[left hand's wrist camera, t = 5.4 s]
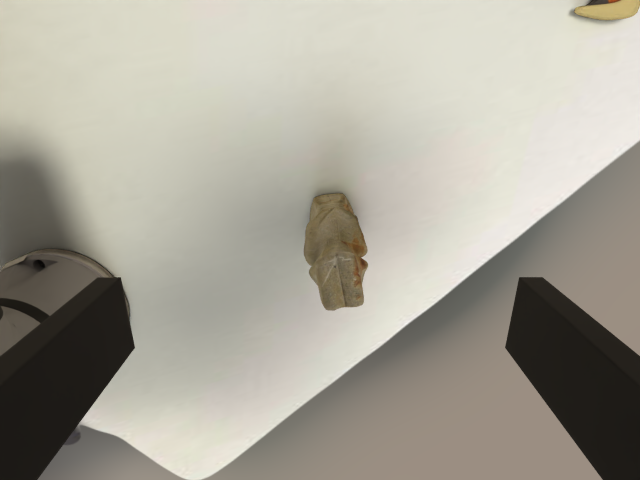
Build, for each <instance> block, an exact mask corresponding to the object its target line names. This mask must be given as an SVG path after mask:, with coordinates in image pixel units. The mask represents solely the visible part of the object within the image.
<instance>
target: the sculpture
mask: <svg viewBox="0 0 640 480" xmlns="http://www.w3.org/2000/svg"><path fill="white" fill-rule="evenodd" d="M367 251H368V250H367V246H366V243H365V240H364V236H363V233H362V231H361V228H360V226H359V223H358V219H357V217H356V216H355V215H354V213H353V210H352V208H351V206H350V203H349V201H348V200H347V198H346V196H345V195H344V194H341V193H337V194H327V195H321V196H317V197H315V198H314V199H313V202H312V206H311V211H310V222H309V223H308V225H307V227H306V235H305V245H304V256H305V259H306V261H307V262H308V264H309V265H311V266H312V267H311V268H310V270H309V274H310V276H311V278H312V279H313V280H314V281H315V283H316V284H317V285H318V288H319V293H320V297H321V301H322V304H323V306H324V308H325V309H326V310H337V309H339V308H342V307H358V306H361V305H362V304H363V302H364V296H363V289H362V282H363V277H364V273H365V271H366V269H367V267H368V263H367V262H366V261H365V260H363V259H362V258H361V257H363V256H364V255H365V254H366V253H367Z"/></svg>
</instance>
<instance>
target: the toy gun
mask: <svg viewBox="0 0 640 480" xmlns="http://www.w3.org/2000/svg"><path fill="white" fill-rule="evenodd" d="M639 6H640V0H592V2H591V3H589V4H588V5H586V6H580V7H577V8H575V12H574V13H576V14H578V15H581V16H584V17H589V18H594V19H599V20H616V19H624V18H629V17H632V16H634V15H635V14H636V13H637V11H638V9H639Z"/></svg>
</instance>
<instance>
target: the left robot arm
mask: <svg viewBox="0 0 640 480" xmlns="http://www.w3.org/2000/svg"><path fill="white" fill-rule="evenodd" d="M2 269H3V270H2ZM2 269H1V270H2V271H1V272H0V480H37V479H38V478H39V477H40V475H41V474H42V473H43V471H44V470H45V468H46V467H47V466H48V464H49V463H50V462H51V460H52V459H53V458H54V456H55V455H56V454H57V452H58V451H59V449H60V448H61V447H62V445H63V444H64V443H65V441H66V440H67V439H68V437H69V436H70V435H71V433H72V432H73V431H74V429H75V428H76V427H77V425H78V424H79V422H80V421H81V420H82V418H83V417H84V416H85V414H86V413H87V412H88V410H89V409H90V408H91V406H92V405H93V404H94V402H95V401H96V399H97V398H98V397H99V395H100V394H101V393H102V391H103V390H104V389H105V387H106V386H107V385H108V383H109V382H110V381H111V379H112V378H113V376H114V375H115V374H116V372H117V371H118V370H119V368H120V367H121V366H122V364H123V363H124V362H125V360H126V359H127V358H128V356H129V355H130V353H131V352H132V351H133V349H134V348H135V346H134V341H133V336H132V331H131V326H130V321H129V308H128V303H127V299H126V297H125V294H124V291H123V286H122V281H121V277H113V276H112V275H111V274H110V273H109V272H108V271H107V270H106V269H104V268H103V267H102V266H101V265H99V264H98V263H96V262H95V261H93V260H91V259H89V258H87V257H85V256H83V255H81V254H78V253H75V252H72V251H67V250H61V249H43V250H37V251H33V252H31V253H28V254H26V255H24V256H22V257H19V258H17V259H15V260H12V261H10V262H8V263H6V264H5V265H4V266H3V268H2ZM505 348H506V349H507V351H508V352H509V353H510V355H511V356H512V357H513V359H514V360H515V362H516V363H517V364H518V366H519V367H520V368H521V370H522V371H523V372H524V374H525V375H526V376H527V378H528V379H529V381H530V382H531V383H532V385H533V386H534V387H535V389H536V390H537V391H538V393H539V394H540V395H541V397H542V398H543V399H544V401H545V402H546V404H547V405H548V406H549V408H550V409H551V410H552V412H553V413H554V414H555V416H556V417H557V418H558V420H559V421H560V422H561V424H562V425H563V427H564V428H565V429H566V431H567V432H568V433H569V435H570V436H571V437H572V439H573V440H574V441H575V443H576V444H577V445H578V447H579V448H580V449H581V451H582V452H583V454H584V455H585V456H586V458H587V459H588V460H589V462H590V463H591V464H592V466H593V467H594V468H595V470H596V471H597V473H598V474H599V475H600V476H601V478H602V479H603V480H640V356H639V355H638V354H636V353H635V352H634V351H633V350H631V349H630V348H629V347H628V346H627V345H625V344H624V343H623V342H622V341H620V340H619V339H618V338H617V337H615V336H614V335H613V334H612V333H611V332H609V331H608V330H607V329H606V328H604V327H603V326H602V325H601V324H599V323H598V322H597V321H596V320H594V319H593V318H592V317H591V316H590V315H588V314H587V313H586V312H585V311H583V310H582V309H581V308H580V307H578V306H577V305H576V304H575V303H573V302H572V301H571V300H570V299H569V298H567V297H566V296H565V295H563V294H562V293H561V292H560V291H559V290H557V289H556V288H555V287H554V286H552V285H551V284H550V283H549V282H548V281H546V280H545V279H544V278H542V277H520V278H519V281H518V286H517V291H516V296H515V302H514V306H513V311H512V316H511V322H510V326H509V331H508V337H507V341H506V346H505Z"/></svg>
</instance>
